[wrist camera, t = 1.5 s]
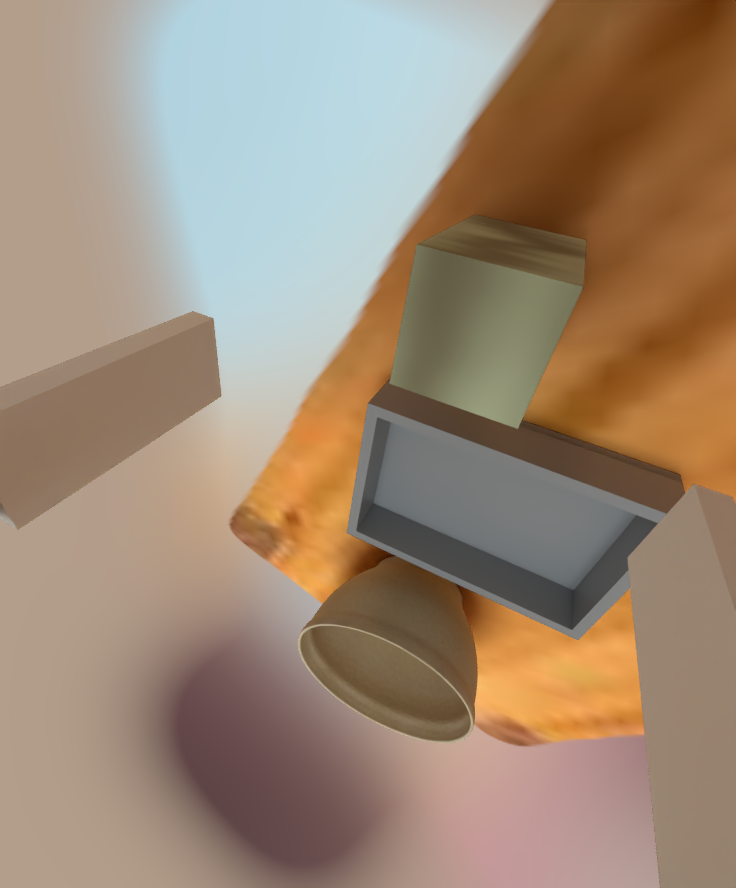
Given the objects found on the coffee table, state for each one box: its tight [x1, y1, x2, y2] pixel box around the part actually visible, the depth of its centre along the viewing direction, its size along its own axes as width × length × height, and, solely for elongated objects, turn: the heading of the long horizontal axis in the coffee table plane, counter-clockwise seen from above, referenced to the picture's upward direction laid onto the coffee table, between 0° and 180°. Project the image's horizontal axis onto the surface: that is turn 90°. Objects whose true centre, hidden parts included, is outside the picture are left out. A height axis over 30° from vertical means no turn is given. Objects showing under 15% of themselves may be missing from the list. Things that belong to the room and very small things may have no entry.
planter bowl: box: [298, 556, 477, 743], centre depth 39 cm, size 16×16×11 cm
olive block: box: [389, 215, 587, 429], centre depth 20 cm, size 6×6×10 cm
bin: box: [347, 379, 685, 640], centre depth 30 cm, size 20×14×4 cm
